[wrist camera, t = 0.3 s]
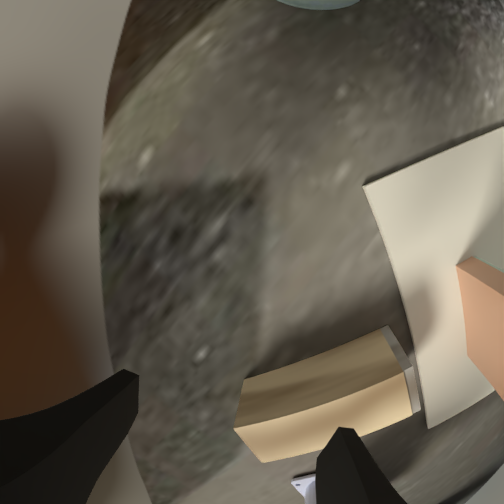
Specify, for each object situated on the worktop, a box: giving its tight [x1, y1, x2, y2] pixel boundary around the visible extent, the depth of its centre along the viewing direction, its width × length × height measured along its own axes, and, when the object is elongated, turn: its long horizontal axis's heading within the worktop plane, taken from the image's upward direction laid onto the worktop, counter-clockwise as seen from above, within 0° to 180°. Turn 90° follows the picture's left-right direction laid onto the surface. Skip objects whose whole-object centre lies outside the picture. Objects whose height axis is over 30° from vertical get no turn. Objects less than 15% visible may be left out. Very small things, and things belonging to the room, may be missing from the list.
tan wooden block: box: [233, 325, 421, 463], centre depth 17 cm, size 4×11×5 cm, turn 116°
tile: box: [456, 256, 504, 400], centre depth 12 cm, size 8×2×8 cm, turn 26°
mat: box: [362, 126, 504, 429], centre depth 16 cm, size 22×16×1 cm
